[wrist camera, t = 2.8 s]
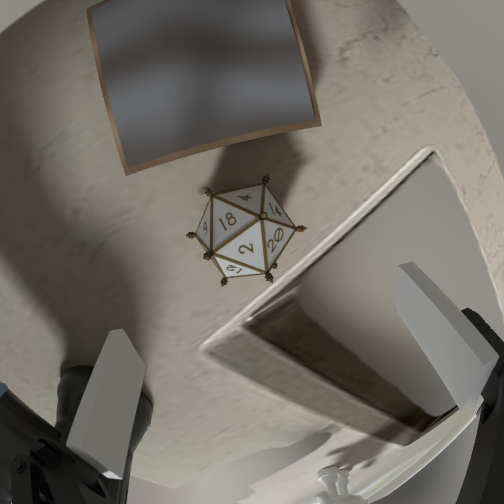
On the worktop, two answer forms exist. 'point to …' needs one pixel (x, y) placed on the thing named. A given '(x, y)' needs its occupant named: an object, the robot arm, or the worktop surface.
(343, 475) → the robot toy
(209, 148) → the walnut framed square mirror
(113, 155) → the worktop surface
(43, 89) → the worktop surface
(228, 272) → the game die
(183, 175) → the worktop surface
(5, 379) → the worktop surface
